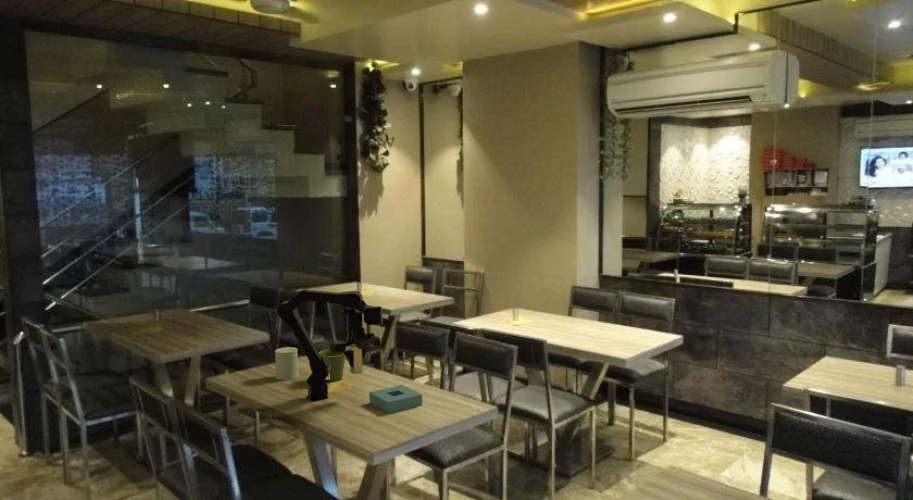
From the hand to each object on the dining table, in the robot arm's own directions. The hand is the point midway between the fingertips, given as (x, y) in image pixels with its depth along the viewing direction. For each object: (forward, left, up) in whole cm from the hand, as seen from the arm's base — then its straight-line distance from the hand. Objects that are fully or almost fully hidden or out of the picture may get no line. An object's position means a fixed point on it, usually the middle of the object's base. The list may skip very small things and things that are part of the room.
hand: (356, 365), depth 244 cm
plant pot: (+3, +27, -12) cm, 29 cm away
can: (-11, +42, -12) cm, 45 cm away
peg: (0, 0, -2) cm, 2 cm away
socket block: (+8, -15, -12) cm, 21 cm away
